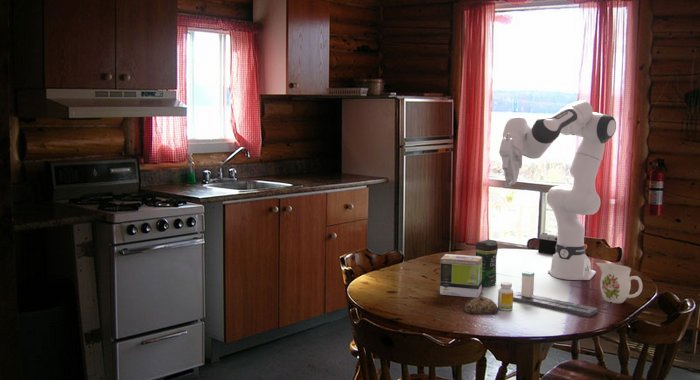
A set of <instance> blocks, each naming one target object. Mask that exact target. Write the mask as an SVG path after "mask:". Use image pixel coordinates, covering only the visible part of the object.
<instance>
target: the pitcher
mask: <svg viewBox="0 0 700 380" xmlns="http://www.w3.org/2000/svg"><path fill="white" fill-rule="evenodd" d="M595 264H596V265H597V266H598V267H599V269H600V270H601V277H600V279H599V280H600V283H599V285H600V292H601V294H602V295H601V296H602V297H603V299H604V300H605V302H607V303H610V302H612V303H611V304H622V303H624V302H625V301H626V299H634V298H637V297H638V296H639V295H640V294H641V293H642V291H643V286H644V285H643V282H642V279H641V278H640V277H639V276H638V275H633V276H632V275H631V276H630V274H631V271H632V268H631V267H629V266H626V265H621V264H615V263H605V262H604V263H603V262H595ZM632 280H636V281H637V283H638V290H637V291H636V292H635V293H633V294H630V291H631V286H632Z"/></svg>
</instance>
